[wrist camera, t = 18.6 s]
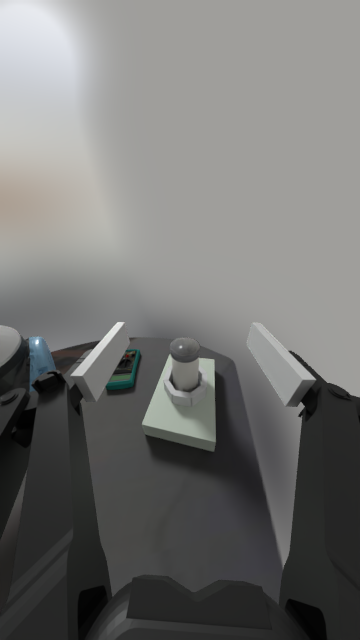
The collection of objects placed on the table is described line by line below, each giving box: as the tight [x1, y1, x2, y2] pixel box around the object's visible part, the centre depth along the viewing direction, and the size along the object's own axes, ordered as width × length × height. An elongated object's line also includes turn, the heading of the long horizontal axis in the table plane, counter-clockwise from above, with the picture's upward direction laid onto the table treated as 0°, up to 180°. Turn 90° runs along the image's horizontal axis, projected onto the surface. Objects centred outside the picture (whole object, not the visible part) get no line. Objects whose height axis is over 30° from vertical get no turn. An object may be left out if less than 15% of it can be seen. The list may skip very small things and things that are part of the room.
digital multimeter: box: [105, 349, 140, 390], centre depth 43 cm, size 7×15×3 cm, turn 6°
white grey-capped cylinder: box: [170, 337, 200, 393], centre depth 30 cm, size 6×6×12 cm
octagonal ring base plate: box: [142, 354, 216, 452], centre depth 33 cm, size 14×20×7 cm
